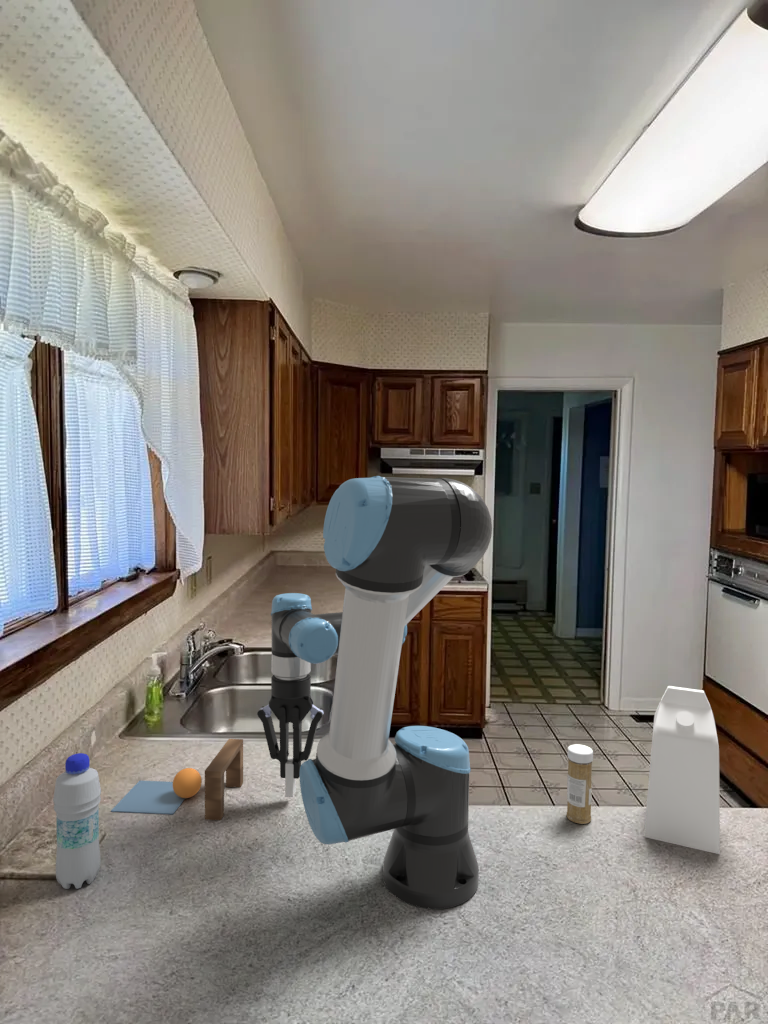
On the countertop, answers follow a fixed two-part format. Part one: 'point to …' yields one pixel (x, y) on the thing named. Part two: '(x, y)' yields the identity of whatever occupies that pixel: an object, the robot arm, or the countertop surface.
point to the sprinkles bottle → (579, 783)
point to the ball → (187, 783)
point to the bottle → (77, 822)
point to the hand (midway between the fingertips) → (290, 793)
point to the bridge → (214, 777)
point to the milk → (684, 772)
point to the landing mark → (150, 798)
